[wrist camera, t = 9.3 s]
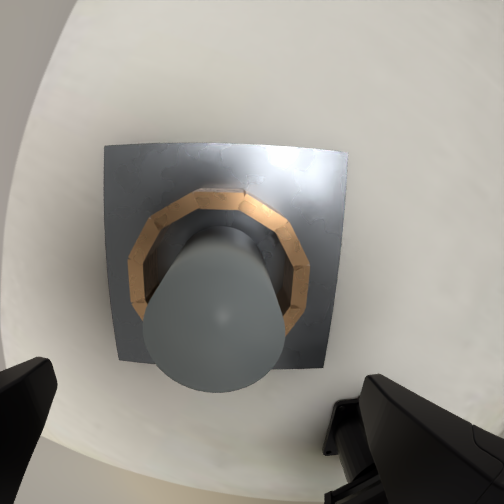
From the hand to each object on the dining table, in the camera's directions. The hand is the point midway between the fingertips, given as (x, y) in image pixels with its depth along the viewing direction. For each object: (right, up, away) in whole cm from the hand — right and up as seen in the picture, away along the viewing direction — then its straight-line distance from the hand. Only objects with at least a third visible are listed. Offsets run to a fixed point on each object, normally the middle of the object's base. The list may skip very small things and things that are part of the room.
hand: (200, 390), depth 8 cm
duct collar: (-1, +3, +12) cm, 12 cm away
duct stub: (0, +3, +11) cm, 11 cm away
